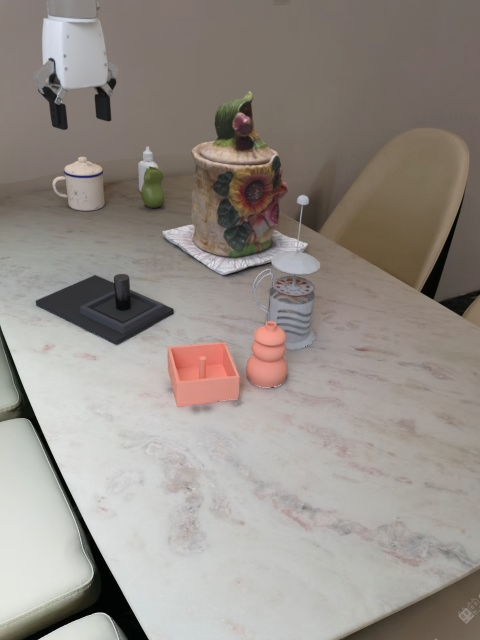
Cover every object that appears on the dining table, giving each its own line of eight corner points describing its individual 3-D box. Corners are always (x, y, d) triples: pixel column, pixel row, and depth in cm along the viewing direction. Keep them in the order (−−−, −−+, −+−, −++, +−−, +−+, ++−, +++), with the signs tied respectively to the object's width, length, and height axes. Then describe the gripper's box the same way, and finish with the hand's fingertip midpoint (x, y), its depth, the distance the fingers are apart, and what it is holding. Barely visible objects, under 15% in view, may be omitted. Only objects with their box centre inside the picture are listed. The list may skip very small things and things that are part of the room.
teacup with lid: (102, 198, 153) (98, 151, 146) (108, 210, 146) (105, 162, 140) (53, 200, 149) (47, 153, 142) (57, 213, 142) (51, 164, 135)
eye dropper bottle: (153, 188, 162) (152, 143, 155) (160, 195, 158) (159, 149, 151) (138, 190, 160) (136, 144, 153) (144, 197, 156) (142, 150, 149)
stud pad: (93, 313, 103) (90, 277, 100) (123, 299, 109) (121, 264, 105) (123, 328, 100) (121, 291, 96) (153, 312, 106) (152, 276, 102)
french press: (321, 349, 102) (342, 207, 88) (254, 350, 100) (265, 206, 86) (308, 319, 110) (326, 185, 96) (246, 320, 108) (255, 183, 94)
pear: (156, 202, 154) (155, 162, 148) (168, 208, 151) (168, 168, 145) (138, 205, 150) (136, 166, 145) (149, 212, 147) (148, 172, 142)
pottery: (177, 406, 86) (176, 349, 80) (167, 369, 93) (167, 314, 88) (295, 393, 91) (302, 339, 85) (277, 359, 98) (283, 307, 93)
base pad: (35, 305, 106) (33, 293, 105) (95, 279, 116) (94, 267, 115) (117, 345, 98) (116, 332, 96) (173, 313, 108) (173, 301, 106)
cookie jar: (157, 237, 135) (153, 84, 117) (241, 218, 149) (249, 79, 131) (224, 280, 120) (232, 112, 102) (310, 253, 135) (330, 102, 117)
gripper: (97, 6, 101) (104, 113, 110) (8, 6, 88) (26, 127, 98) (129, 11, 98) (134, 121, 107) (42, 12, 85) (57, 136, 95)
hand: (82, 123), depth 103 cm, fingers open, 9 cm apart
